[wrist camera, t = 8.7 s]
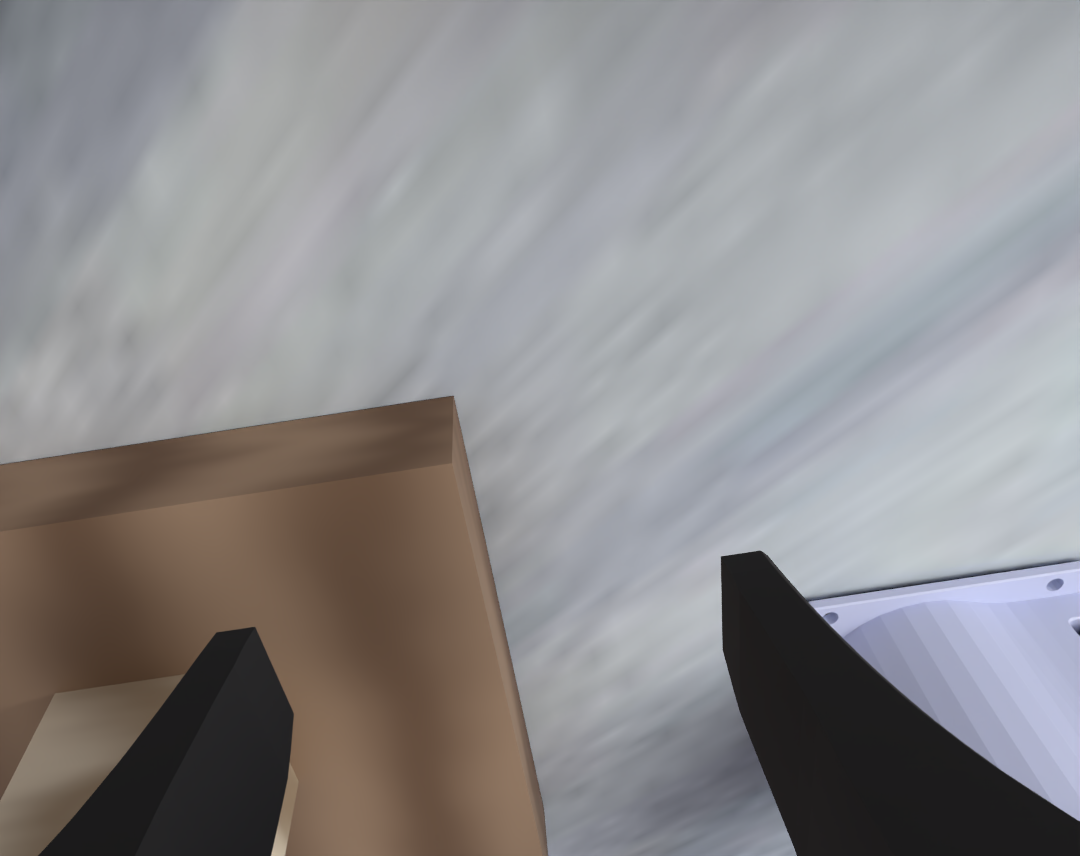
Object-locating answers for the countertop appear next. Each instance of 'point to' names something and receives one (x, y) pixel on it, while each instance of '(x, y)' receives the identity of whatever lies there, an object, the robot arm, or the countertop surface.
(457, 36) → the countertop surface
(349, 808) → the walnut plinth
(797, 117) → the countertop surface
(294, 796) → the birch cube
